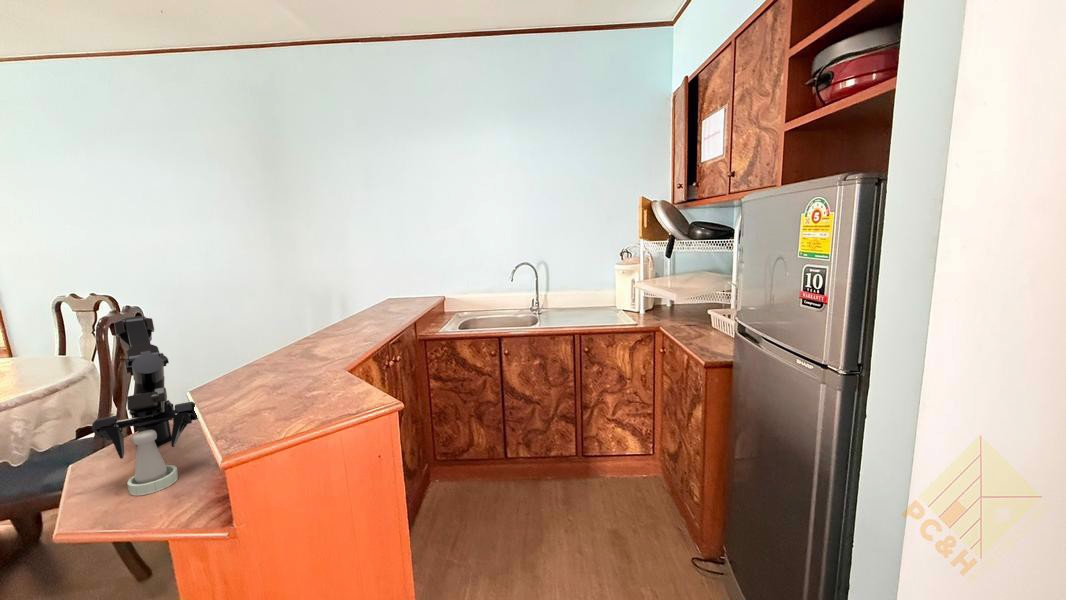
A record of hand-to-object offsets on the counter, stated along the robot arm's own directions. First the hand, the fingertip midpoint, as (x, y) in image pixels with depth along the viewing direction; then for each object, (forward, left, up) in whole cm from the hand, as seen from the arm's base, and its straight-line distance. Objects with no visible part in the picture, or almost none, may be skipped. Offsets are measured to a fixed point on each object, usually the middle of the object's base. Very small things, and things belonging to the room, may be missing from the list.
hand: (147, 452), depth 100 cm
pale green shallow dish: (-1, 0, -9) cm, 9 cm away
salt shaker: (-1, -1, -8) cm, 8 cm away
